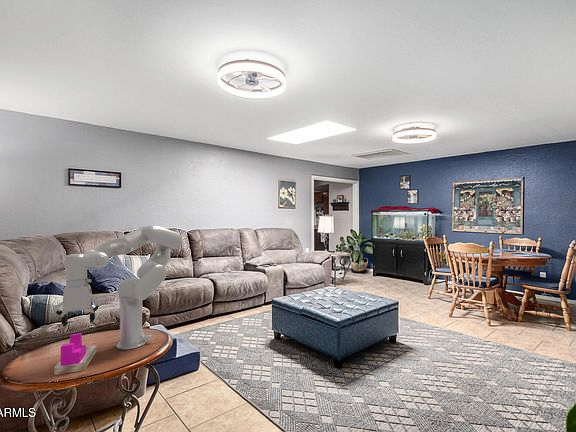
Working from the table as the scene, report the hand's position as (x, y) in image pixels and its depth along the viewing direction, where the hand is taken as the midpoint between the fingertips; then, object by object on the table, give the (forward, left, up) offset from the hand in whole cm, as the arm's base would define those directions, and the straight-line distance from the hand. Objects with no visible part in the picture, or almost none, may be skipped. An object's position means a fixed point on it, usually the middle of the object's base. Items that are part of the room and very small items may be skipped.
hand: (78, 323), depth 132 cm
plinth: (+1, 0, -16) cm, 16 cm away
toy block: (+1, +2, -13) cm, 13 cm away
